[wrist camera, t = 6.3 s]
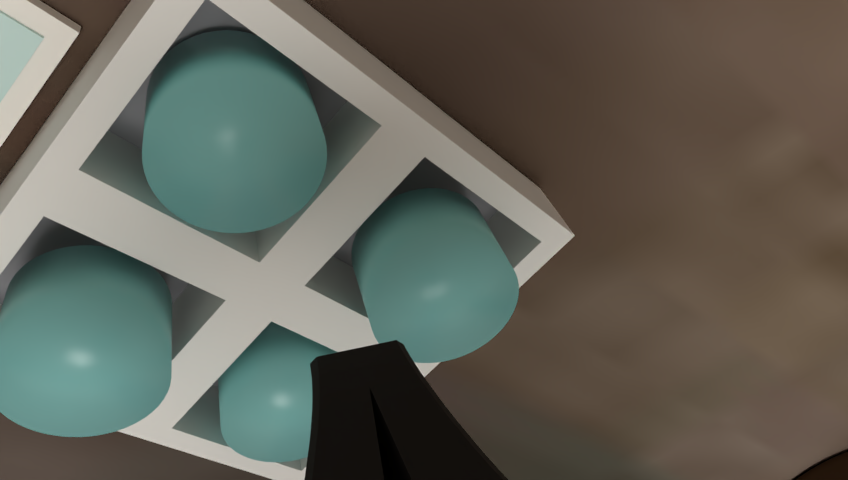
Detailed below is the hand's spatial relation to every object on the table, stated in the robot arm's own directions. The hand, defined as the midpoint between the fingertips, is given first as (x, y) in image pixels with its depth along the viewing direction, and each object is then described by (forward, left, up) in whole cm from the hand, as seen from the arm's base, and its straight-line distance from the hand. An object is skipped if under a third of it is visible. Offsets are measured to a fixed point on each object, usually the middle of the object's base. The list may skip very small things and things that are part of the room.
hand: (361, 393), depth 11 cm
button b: (-6, +2, -8) cm, 10 cm away
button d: (0, +2, -9) cm, 9 cm away
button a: (-6, -4, -9) cm, 12 cm away
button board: (-3, -1, -9) cm, 10 cm away
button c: (0, -4, -8) cm, 9 cm away
